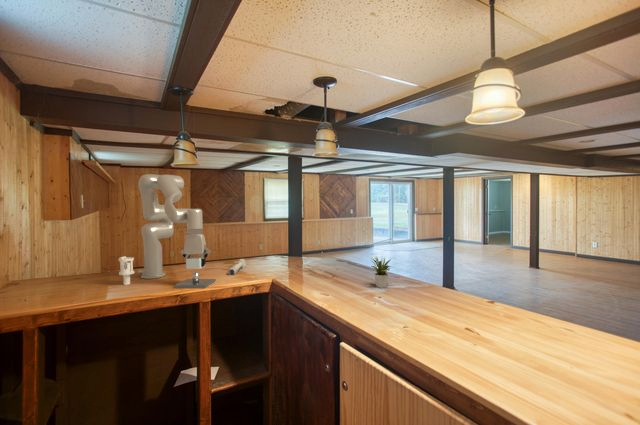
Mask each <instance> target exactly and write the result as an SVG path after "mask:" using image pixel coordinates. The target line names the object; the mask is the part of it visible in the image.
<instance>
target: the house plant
mask: <svg viewBox="0 0 640 425" xmlns="http://www.w3.org/2000/svg"><path fill="white" fill-rule="evenodd" d="M383 256H384V254H382V256H381V260H379V259H378V257H377V256H374V258H372V260H373V261H372V260H371V262H372V263H373V265H371V267H370V268H372V269H373V270H372V271H376V273H374V281H375V286H376V288H381V289H383V288H385V289H386V288H387V286H388V281H389V276H390V275H389V273H387V271H388V272H390V269H391V268H392V265H388V264H389V263H390V261H391V260H392V259H393V257H391V258H390V259H388V260H387V261H386V256H384V257H383ZM367 257H369V258H370V255H369V256H367Z"/></svg>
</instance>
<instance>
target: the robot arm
mask: <svg viewBox="0 0 640 425" xmlns="http://www.w3.org/2000/svg"><path fill="white" fill-rule="evenodd" d="M184 187H185V180H184V178H183V177H182V176H180V175H174V174H153V173H151V174H150V173H149V174H143V175H141V176H140V178H139V180H138V190H139V192H140V196H141V203H142V206H141V207H142V214H143V219H144V220H145V221H149V223H146V224H144V225H143V226H142V227H141V232H140V233H141V237H142V239H143V240H142V241H143V242H142V243H143V269H138V272H137V273H138V274H141V276H140V278H141V279H144V280H146V279H147V280H150V279H152V280H153V279H160V278H163V277H166V272H163V245H162V243H161V242H160V241H159V240H160V239H161V240H162V239H168V238H171V237H173V235H174V232H175V231H174V230H175V229H174V224H184V223H186V225H187V226H186V227H187V229H186V230H184V233H185V234H187V235H185V236H184V246H183V248H182V249H181V250H180V251H179V252H180V254H181V255H182V257H183V258H184V259H185V260H186V259H188V258H191V257H192V256H191V255H200V257H202V259H201V266H202V268H204V267H203V266H205V267H206V264H207V263H206V259H207V257H208V256H209V255H210V254H211V252H212V250H211V249H210V248H208V247H207V244H206V243H207V242H206V237H205V235H204V234H203V233H204V231H203V230H204V228H203V227H204V226H203V210H202V208H176V206H175V205H174V203H177V202H178V201H180V200H181V199H182V196H183V193H182V191H181V190H183V189H184ZM154 190H160V191H161V193H162V195H163V196H164V198H165V201H164V204H160V203H159V197H158V194H157V193H156V192H155V191H154ZM150 221H151V222H150ZM152 221H153V222H152ZM154 221H155V222H154ZM156 221H161V222H156Z"/></svg>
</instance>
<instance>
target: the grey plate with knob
mask: <svg viewBox="0 0 640 425" xmlns="http://www.w3.org/2000/svg"><path fill="white" fill-rule="evenodd" d="M191 277H192V278H186V279H184V280H182V281H180V282H178V283H176V284H174V285H173V288H174V289H206V288H208V287H209V285H210V286H212V285H213V284H215V283H216V282H217V279H216V278H200V272H199V271H192V276H191ZM215 281H216V282H215ZM214 282H215V283H214ZM212 283H213V284H212Z"/></svg>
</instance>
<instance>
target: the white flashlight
mask: <svg viewBox="0 0 640 425" xmlns="http://www.w3.org/2000/svg"><path fill="white" fill-rule="evenodd" d="M246 267H247V263H246V260H245V259H244V258H240V259H238V262H237V263H236V264H234V265H232V266H231V267H230V268H229V270H228V271H227V273H228V275H229V276H234V275H236V273H238V271H239V270H242V269H243V270H244V269H246Z"/></svg>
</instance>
